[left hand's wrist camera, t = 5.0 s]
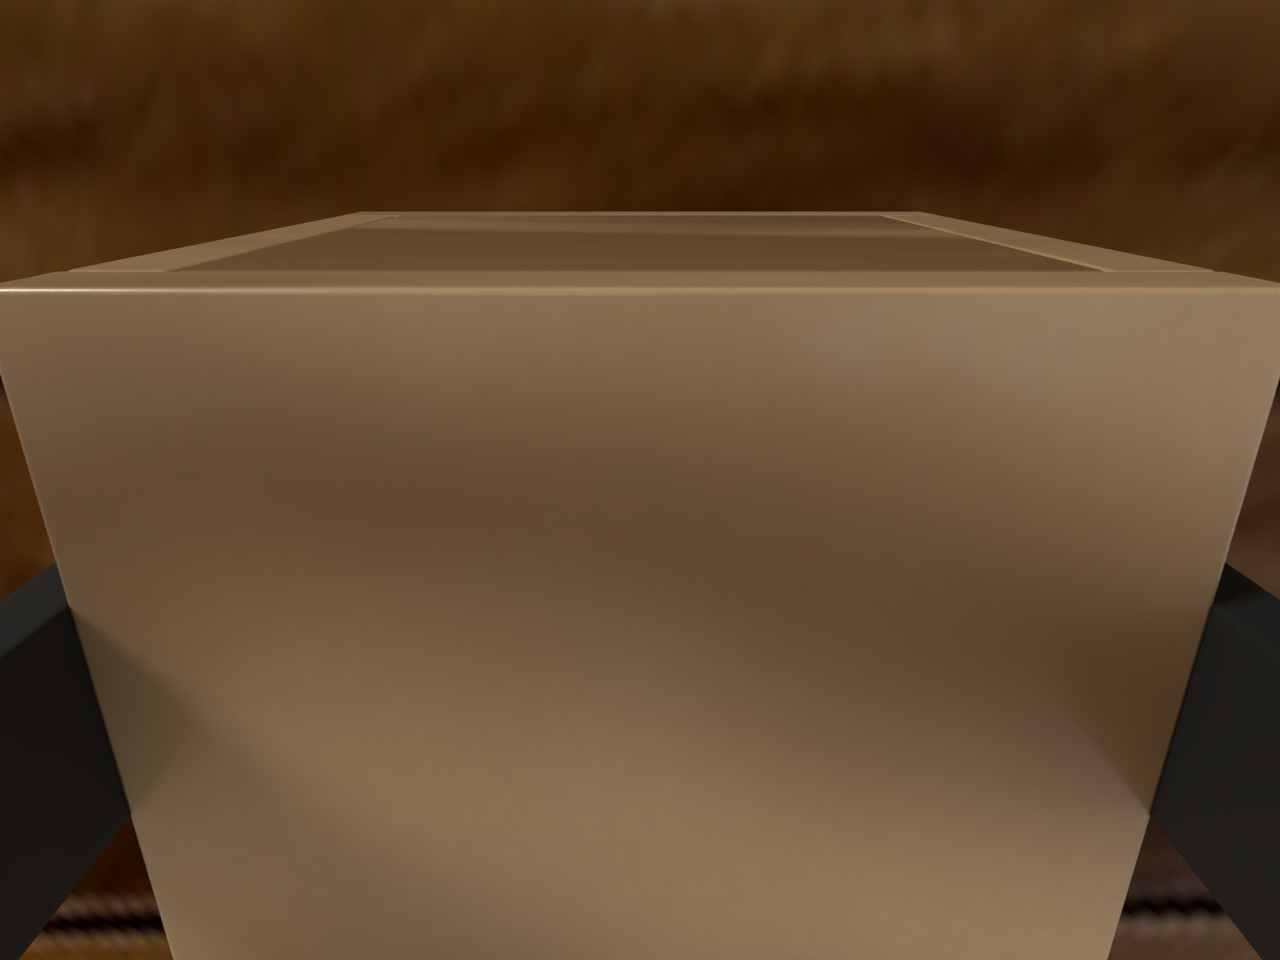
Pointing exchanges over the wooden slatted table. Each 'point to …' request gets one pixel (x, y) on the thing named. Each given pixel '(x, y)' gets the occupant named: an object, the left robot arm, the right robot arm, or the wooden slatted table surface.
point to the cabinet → (640, 575)
